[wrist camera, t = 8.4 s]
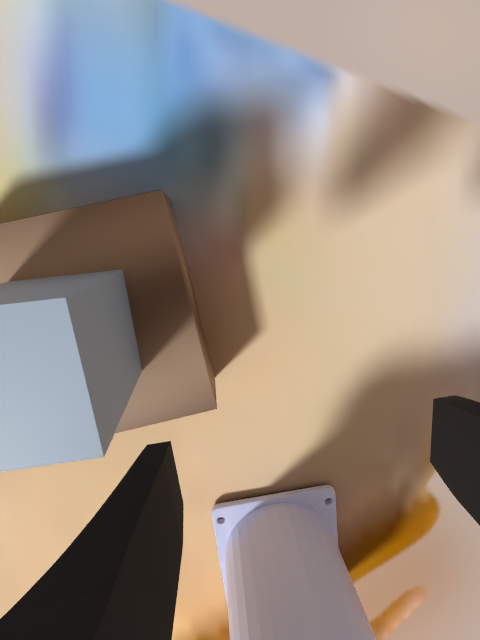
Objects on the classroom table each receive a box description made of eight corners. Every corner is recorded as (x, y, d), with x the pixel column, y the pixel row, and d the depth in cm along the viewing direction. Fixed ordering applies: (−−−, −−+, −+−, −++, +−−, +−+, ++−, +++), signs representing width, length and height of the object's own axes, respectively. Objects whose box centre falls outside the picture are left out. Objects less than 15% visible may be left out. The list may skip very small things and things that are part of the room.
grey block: (141, 370, 15) (103, 457, 10) (37, 384, 15) (-69, 482, 9) (122, 269, 14) (65, 297, 8) (7, 281, 14) (-136, 320, 8)
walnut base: (214, 374, 20) (216, 408, 16) (45, 414, 20) (6, 459, 16) (170, 199, 17) (160, 189, 13) (-27, 240, 17) (-95, 243, 13)
